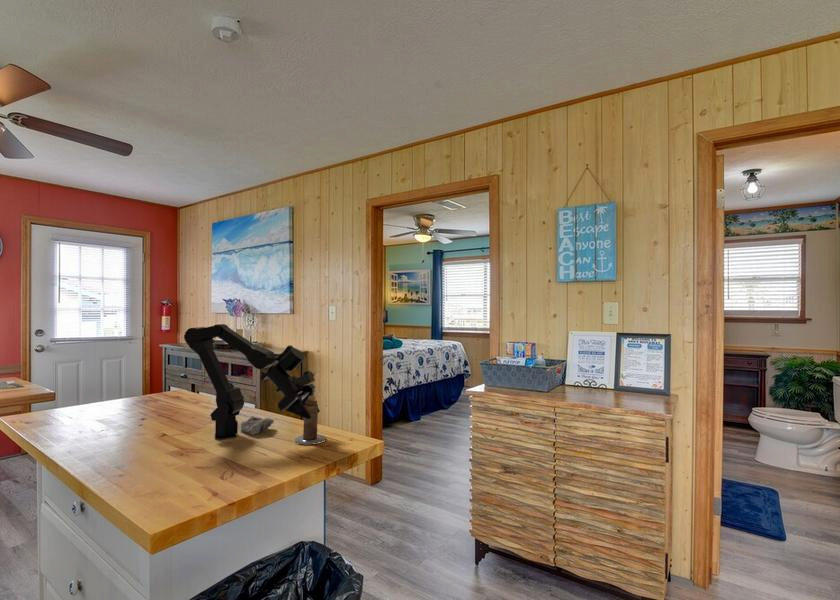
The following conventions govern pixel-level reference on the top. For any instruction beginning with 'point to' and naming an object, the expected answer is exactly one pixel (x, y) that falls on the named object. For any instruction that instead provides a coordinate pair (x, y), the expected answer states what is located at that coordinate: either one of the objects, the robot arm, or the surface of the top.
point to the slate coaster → (302, 441)
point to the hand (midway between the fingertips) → (314, 415)
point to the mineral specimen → (256, 425)
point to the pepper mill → (311, 419)
